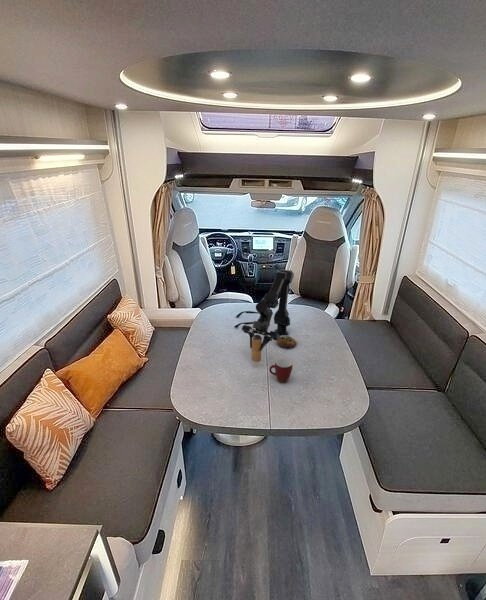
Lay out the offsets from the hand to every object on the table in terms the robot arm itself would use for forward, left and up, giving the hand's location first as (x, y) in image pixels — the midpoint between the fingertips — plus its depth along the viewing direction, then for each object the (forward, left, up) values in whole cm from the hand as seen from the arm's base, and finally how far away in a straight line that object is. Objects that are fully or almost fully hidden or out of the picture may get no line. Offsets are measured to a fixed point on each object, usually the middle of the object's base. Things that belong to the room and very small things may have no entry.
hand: (255, 349), depth 151 cm
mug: (+11, +10, -12) cm, 19 cm away
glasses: (-49, +7, -12) cm, 51 cm away
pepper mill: (-1, +1, -7) cm, 7 cm away
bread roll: (-20, +23, -12) cm, 33 cm away
